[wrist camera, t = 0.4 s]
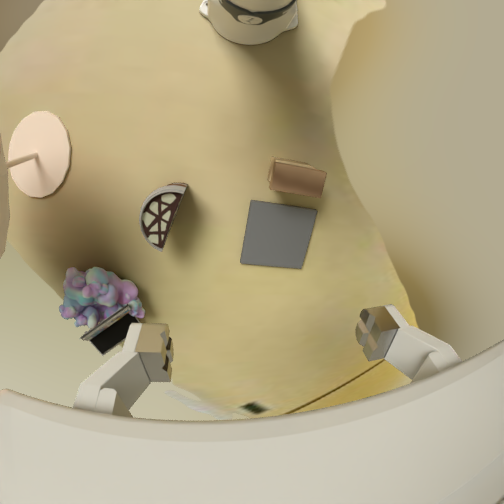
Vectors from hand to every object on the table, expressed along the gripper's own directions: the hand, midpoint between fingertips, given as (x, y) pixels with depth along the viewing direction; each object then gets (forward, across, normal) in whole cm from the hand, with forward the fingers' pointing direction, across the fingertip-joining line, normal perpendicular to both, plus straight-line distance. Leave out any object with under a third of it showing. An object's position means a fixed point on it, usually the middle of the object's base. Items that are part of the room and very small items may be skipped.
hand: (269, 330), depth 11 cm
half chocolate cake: (+44, +13, +7) cm, 47 cm away
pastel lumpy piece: (+44, +30, +29) cm, 61 cm away
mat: (+44, -10, +16) cm, 48 cm away
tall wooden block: (+44, -11, +2) cm, 46 cm away
